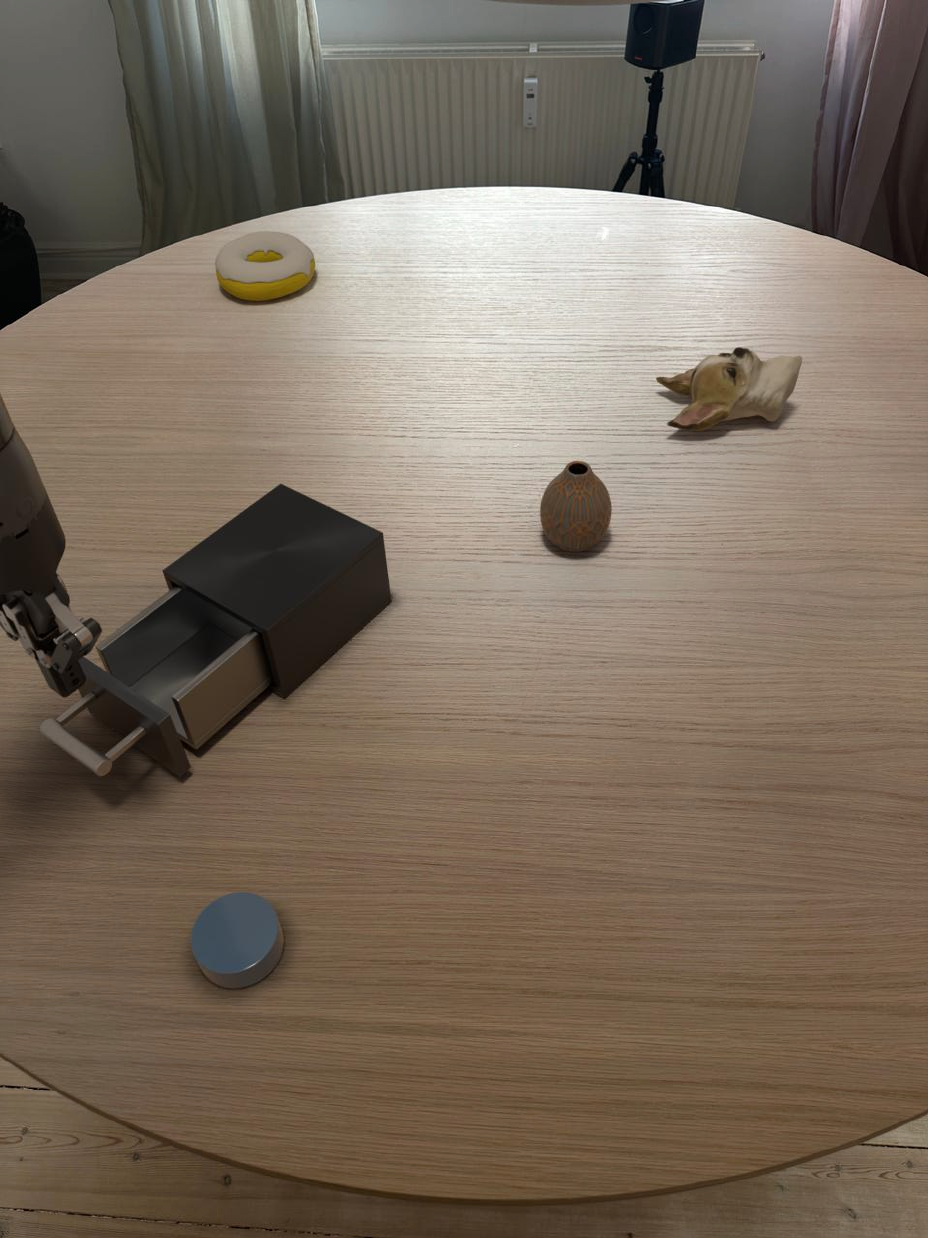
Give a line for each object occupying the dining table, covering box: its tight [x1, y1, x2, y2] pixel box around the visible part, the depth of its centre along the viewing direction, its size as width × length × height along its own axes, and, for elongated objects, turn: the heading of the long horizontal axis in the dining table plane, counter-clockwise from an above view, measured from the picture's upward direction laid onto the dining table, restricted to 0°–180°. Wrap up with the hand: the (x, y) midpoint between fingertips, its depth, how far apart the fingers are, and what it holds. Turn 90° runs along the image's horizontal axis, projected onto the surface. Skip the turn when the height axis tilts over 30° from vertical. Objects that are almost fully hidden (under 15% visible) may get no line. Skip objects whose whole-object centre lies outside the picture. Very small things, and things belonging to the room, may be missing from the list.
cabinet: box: [162, 483, 392, 700], centre depth 89 cm, size 15×13×9 cm
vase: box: [539, 460, 613, 553], centre depth 95 cm, size 7×7×9 cm
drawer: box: [39, 585, 274, 778], centre depth 81 cm, size 18×11×7 cm, turn 143°
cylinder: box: [190, 891, 285, 990], centre depth 68 cm, size 6×6×2 cm
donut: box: [214, 230, 316, 302], centre depth 137 cm, size 14×14×5 cm
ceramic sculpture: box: [655, 346, 803, 432], centre depth 109 cm, size 11×9×15 cm
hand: (69, 686), depth 73 cm, fingers closed
